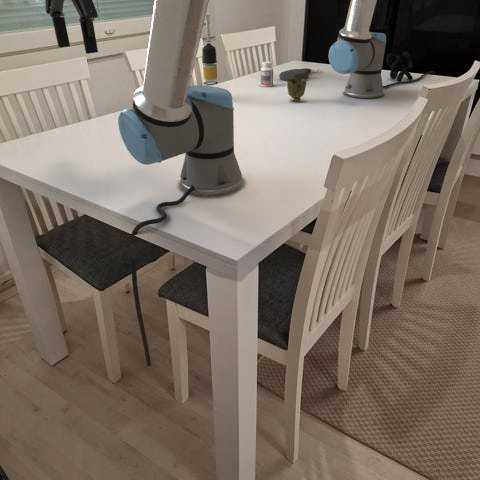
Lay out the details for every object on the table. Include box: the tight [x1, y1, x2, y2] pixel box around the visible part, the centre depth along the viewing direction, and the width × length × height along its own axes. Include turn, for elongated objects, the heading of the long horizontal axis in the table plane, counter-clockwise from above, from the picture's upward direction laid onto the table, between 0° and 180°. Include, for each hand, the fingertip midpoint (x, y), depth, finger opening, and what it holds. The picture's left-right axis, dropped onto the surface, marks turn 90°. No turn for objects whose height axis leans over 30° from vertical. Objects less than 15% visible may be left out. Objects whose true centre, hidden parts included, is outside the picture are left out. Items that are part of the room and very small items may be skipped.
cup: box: [286, 78, 308, 103], centre depth 171 cm, size 8×7×8 cm
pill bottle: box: [260, 60, 274, 88], centre depth 194 cm, size 5×5×10 cm
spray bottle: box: [278, 66, 323, 81], centre depth 210 cm, size 3×11×25 cm
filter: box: [201, 14, 219, 86], centre depth 171 cm, size 6×6×30 cm
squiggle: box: [385, 51, 414, 82], centre depth 198 cm, size 11×10×15 cm
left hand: (77, 49), depth 106 cm, fingers open, 13 cm apart
